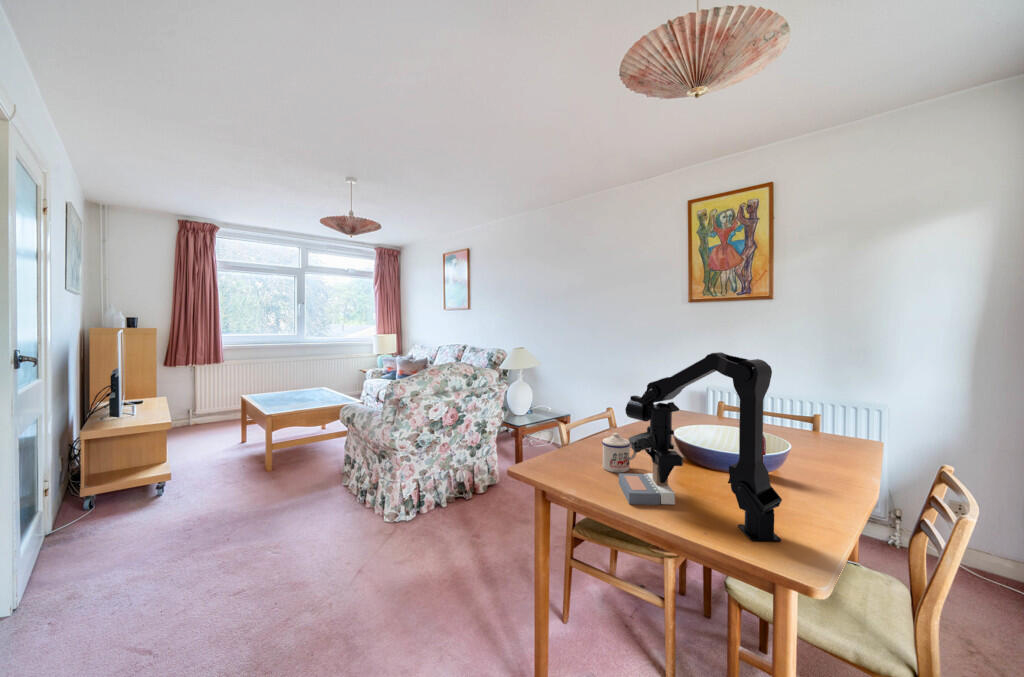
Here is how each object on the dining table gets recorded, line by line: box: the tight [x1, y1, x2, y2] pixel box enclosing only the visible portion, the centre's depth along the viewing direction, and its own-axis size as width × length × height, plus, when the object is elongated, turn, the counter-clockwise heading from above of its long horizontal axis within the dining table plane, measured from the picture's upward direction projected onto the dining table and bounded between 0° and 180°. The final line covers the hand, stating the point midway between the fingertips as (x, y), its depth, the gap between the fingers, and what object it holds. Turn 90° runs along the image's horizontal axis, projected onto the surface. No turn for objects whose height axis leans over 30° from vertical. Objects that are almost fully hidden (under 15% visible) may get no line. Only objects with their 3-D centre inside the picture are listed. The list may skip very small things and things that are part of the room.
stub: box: [646, 463, 676, 505], centre depth 115 cm, size 14×4×8 cm, turn 177°
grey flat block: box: [618, 472, 661, 506], centre depth 115 cm, size 14×8×3 cm, turn 177°
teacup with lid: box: [601, 432, 638, 474], centre depth 135 cm, size 12×9×12 cm
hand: (660, 479), depth 115 cm, fingers closed on stub, 4 cm apart
